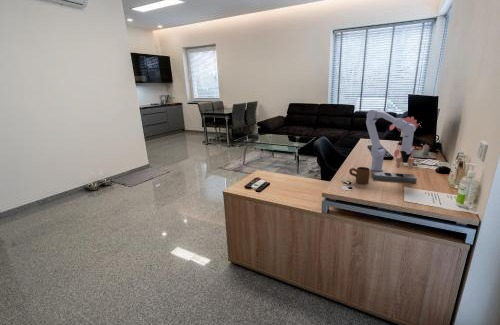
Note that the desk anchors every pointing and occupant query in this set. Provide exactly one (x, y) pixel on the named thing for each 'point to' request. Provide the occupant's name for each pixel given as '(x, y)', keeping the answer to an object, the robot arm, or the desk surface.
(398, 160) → the tan tabbed block
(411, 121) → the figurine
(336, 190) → the desk surface
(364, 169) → the mug
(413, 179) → the grey slotted tapered plate
